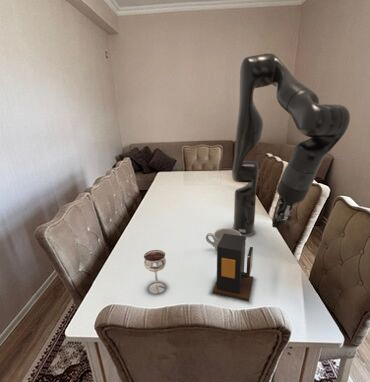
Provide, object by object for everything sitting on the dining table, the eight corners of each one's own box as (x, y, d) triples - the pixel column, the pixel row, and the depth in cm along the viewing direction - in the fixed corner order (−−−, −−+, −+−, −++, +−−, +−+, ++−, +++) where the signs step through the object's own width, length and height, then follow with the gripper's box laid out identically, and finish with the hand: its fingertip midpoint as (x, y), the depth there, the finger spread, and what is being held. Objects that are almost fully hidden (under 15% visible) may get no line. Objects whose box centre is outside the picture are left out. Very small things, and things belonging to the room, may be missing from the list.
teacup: (243, 248, 103) (244, 230, 100) (237, 262, 93) (237, 242, 91) (211, 242, 108) (211, 225, 106) (202, 254, 99) (202, 236, 97)
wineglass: (149, 298, 76) (146, 263, 73) (144, 285, 82) (141, 252, 79) (170, 291, 79) (168, 258, 75) (163, 279, 85) (161, 247, 81)
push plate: (248, 266, 79) (249, 246, 77) (252, 266, 79) (253, 247, 77) (246, 277, 74) (247, 256, 72) (249, 277, 74) (250, 257, 72)
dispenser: (220, 273, 87) (221, 231, 82) (253, 279, 83) (256, 236, 78) (212, 293, 77) (212, 247, 72) (248, 301, 73) (251, 254, 69)
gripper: (281, 165, 72) (264, 209, 83) (282, 191, 62) (262, 238, 72) (308, 171, 71) (287, 215, 81) (313, 198, 60) (288, 245, 71)
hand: (275, 226), depth 77 cm, fingers closed
